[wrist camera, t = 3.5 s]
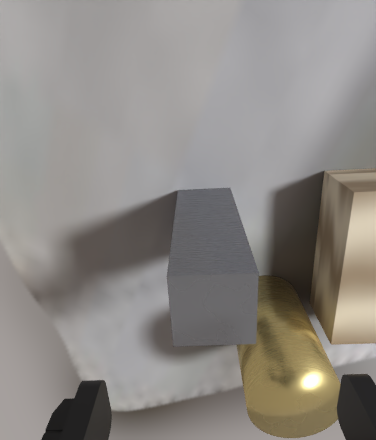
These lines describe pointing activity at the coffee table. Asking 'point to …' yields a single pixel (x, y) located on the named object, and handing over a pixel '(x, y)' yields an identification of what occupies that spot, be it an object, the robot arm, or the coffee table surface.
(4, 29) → the coffee table surface
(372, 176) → the socket block
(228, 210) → the bar
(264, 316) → the round brass bit
